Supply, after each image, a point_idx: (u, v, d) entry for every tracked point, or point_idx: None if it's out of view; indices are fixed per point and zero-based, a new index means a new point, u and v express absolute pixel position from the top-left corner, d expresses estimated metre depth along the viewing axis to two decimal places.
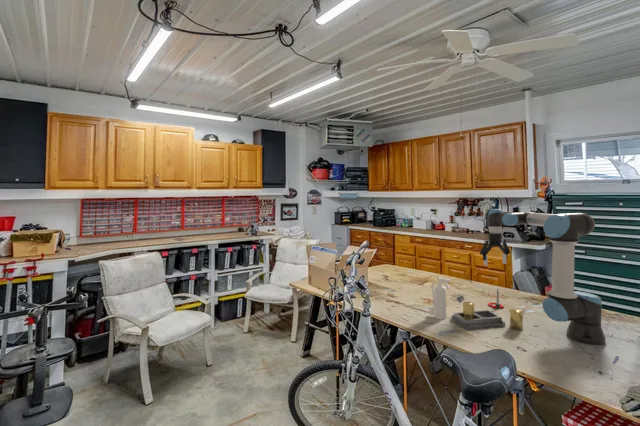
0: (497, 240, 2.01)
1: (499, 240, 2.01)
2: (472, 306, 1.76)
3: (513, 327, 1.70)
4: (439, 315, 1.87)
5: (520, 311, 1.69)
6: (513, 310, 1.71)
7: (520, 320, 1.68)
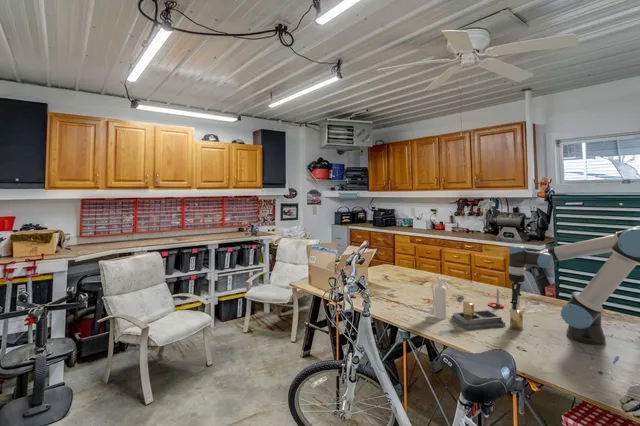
0: None
1: None
2: (472, 306, 1.76)
3: (513, 327, 1.70)
4: (439, 315, 1.87)
5: (520, 311, 1.69)
6: None
7: (520, 320, 1.68)
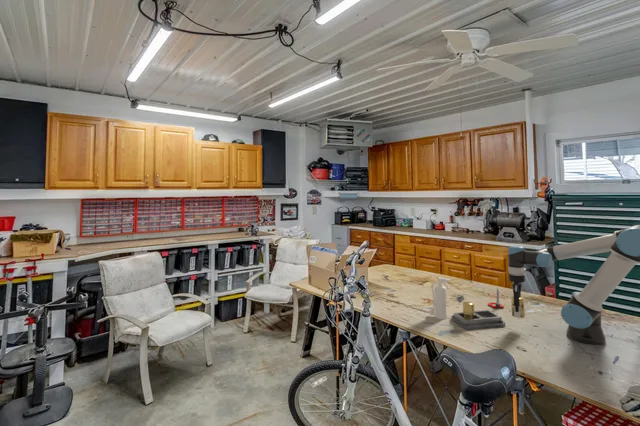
0: (514, 282, 1.69)
1: (514, 283, 1.68)
2: (472, 306, 1.76)
3: None
4: (439, 315, 1.87)
5: (521, 298, 1.69)
6: None
7: (522, 307, 1.67)
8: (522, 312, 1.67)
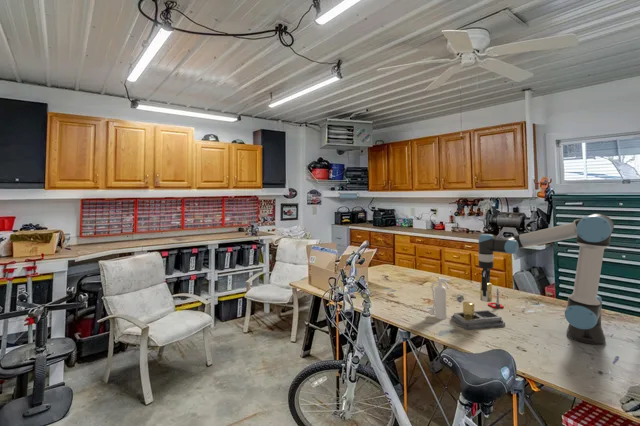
0: (483, 268, 1.78)
1: (483, 269, 1.77)
2: (472, 306, 1.76)
3: None
4: (439, 315, 1.87)
5: (489, 283, 1.78)
6: None
7: (489, 292, 1.77)
8: (489, 296, 1.77)
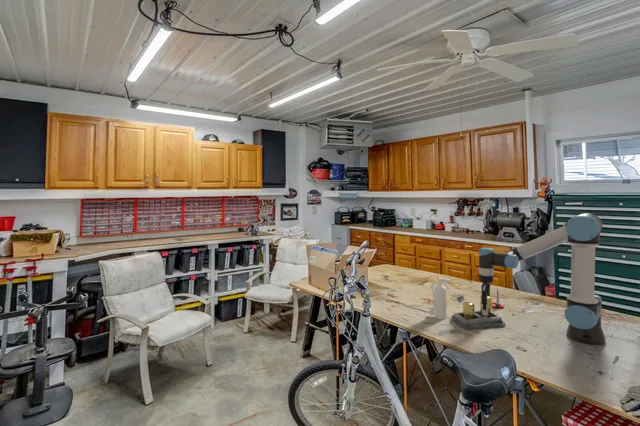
0: (483, 282, 1.79)
1: (483, 283, 1.78)
2: (472, 306, 1.76)
3: None
4: (439, 315, 1.87)
5: (489, 297, 1.79)
6: None
7: (489, 306, 1.77)
8: (489, 310, 1.77)
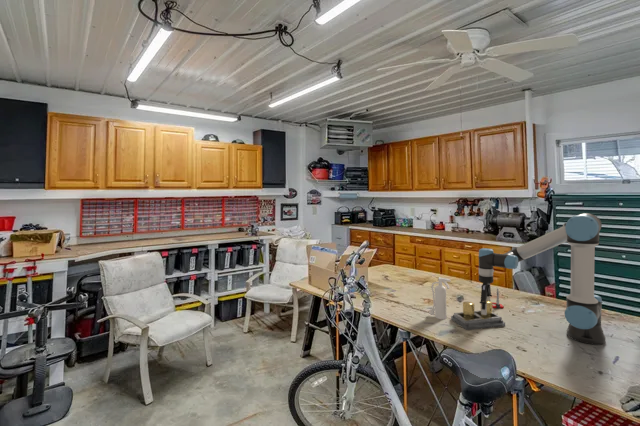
0: None
1: (483, 284, 1.78)
2: (472, 306, 1.76)
3: (483, 317, 1.79)
4: (439, 315, 1.87)
5: (490, 302, 1.79)
6: (483, 301, 1.80)
7: (489, 311, 1.77)
8: (489, 315, 1.78)
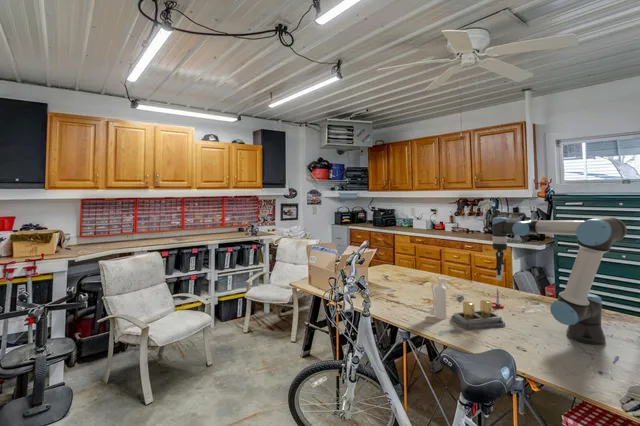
0: None
1: (497, 252, 1.84)
2: (472, 306, 1.76)
3: (483, 317, 1.79)
4: (439, 315, 1.87)
5: (489, 302, 1.79)
6: (483, 301, 1.81)
7: (489, 310, 1.77)
8: (489, 315, 1.78)
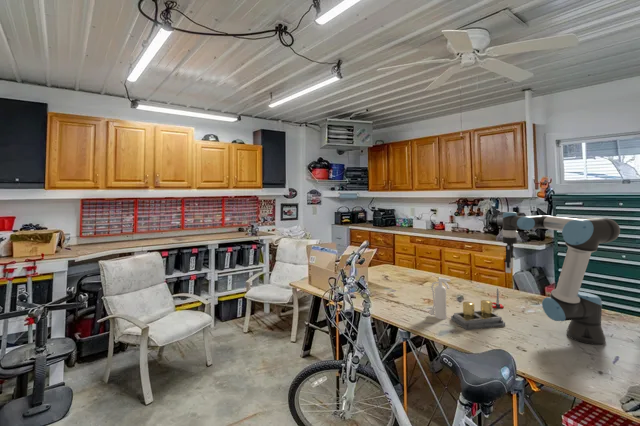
0: (507, 244, 1.91)
1: (507, 245, 1.90)
2: (472, 306, 1.76)
3: (483, 317, 1.79)
4: (439, 315, 1.87)
5: (490, 302, 1.79)
6: (483, 301, 1.81)
7: (489, 310, 1.77)
8: (490, 315, 1.78)
